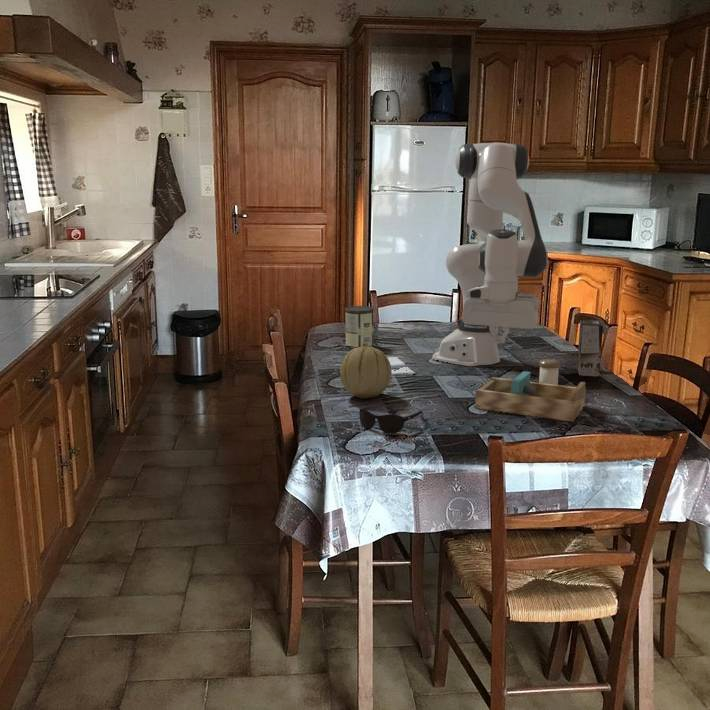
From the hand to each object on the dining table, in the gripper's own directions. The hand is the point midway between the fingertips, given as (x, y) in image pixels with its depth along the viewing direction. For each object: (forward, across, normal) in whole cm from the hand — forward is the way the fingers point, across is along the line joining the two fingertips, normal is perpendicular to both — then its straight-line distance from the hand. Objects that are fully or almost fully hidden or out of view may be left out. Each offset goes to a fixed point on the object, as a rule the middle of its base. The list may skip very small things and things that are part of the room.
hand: (499, 342), depth 212 cm
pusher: (+16, -8, 0) cm, 18 cm away
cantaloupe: (+17, +35, +11) cm, 40 cm away
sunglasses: (+18, +19, +28) cm, 38 cm away
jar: (+17, -10, -16) cm, 26 cm away
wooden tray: (+17, -9, 0) cm, 19 cm away
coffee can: (+16, +65, -46) cm, 81 cm away
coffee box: (+17, -16, -44) cm, 50 cm away
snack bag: (+17, +45, -20) cm, 52 cm away
